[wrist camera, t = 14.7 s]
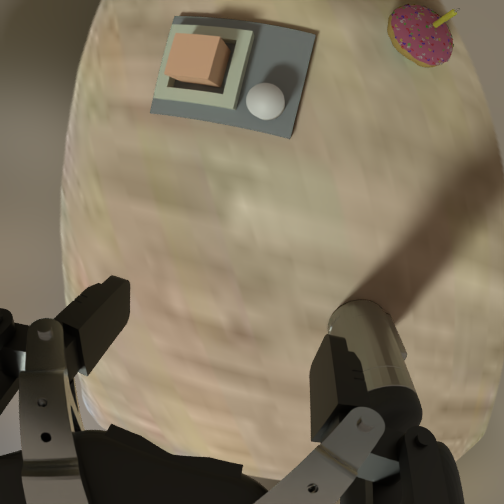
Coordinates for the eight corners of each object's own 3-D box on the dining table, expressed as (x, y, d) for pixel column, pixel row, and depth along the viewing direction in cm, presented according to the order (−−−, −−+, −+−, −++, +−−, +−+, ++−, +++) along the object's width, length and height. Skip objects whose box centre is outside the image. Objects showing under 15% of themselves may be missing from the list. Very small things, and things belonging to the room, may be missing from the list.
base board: (314, 37, 29) (318, 23, 24) (289, 138, 34) (290, 139, 30) (177, 18, 29) (163, 5, 25) (153, 113, 35) (135, 111, 30)
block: (230, 51, 30) (220, 36, 24) (220, 87, 32) (208, 79, 26) (192, 46, 30) (175, 32, 24) (182, 82, 32) (163, 74, 26)
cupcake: (402, 6, 25) (437, -29, 14) (446, 51, 26) (494, 32, 15) (366, 38, 28) (395, 4, 17) (414, 85, 29) (460, 70, 18)
